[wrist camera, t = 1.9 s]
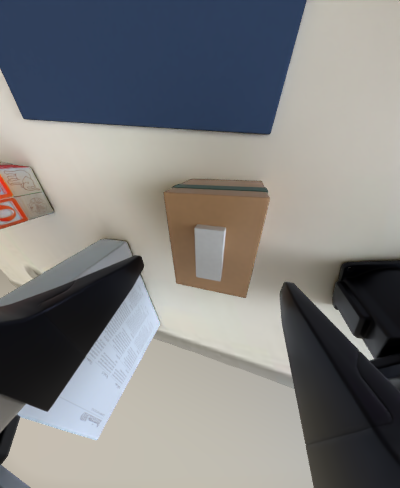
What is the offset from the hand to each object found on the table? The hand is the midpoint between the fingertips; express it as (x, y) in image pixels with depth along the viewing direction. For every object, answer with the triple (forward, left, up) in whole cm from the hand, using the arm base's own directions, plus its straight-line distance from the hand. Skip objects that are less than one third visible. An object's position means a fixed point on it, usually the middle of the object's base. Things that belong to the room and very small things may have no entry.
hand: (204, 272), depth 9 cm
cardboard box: (0, 0, -8) cm, 8 cm away
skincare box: (+18, +10, -8) cm, 22 cm away
